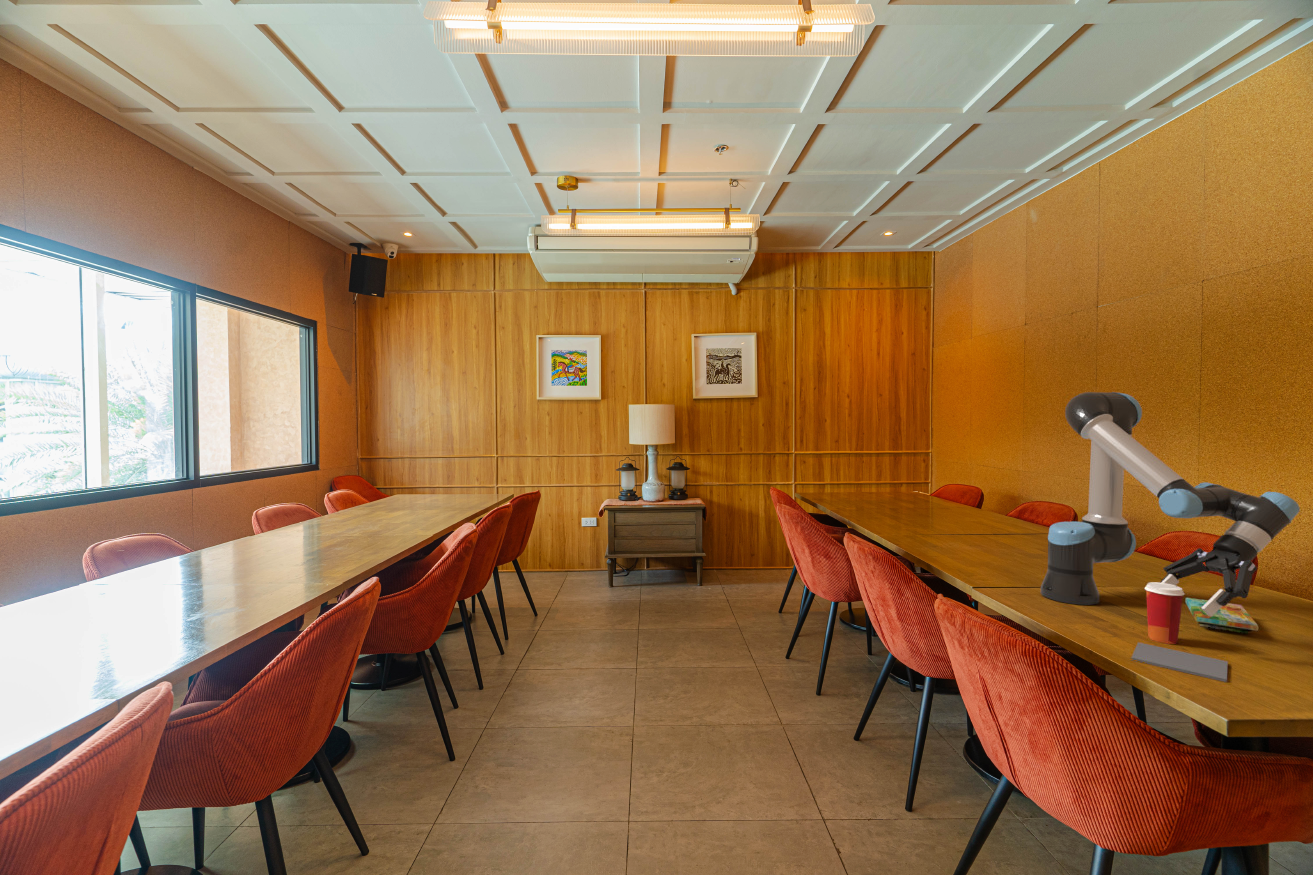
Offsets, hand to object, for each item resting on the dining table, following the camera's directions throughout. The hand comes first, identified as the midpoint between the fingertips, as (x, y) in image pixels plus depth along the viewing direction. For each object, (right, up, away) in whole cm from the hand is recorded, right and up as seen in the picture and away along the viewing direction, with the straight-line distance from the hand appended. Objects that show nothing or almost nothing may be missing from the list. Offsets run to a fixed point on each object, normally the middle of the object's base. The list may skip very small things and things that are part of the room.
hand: (1180, 603), depth 147 cm
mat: (-11, -10, -12) cm, 19 cm away
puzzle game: (+23, -10, +14) cm, 29 cm away
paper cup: (-3, -10, +2) cm, 11 cm away
